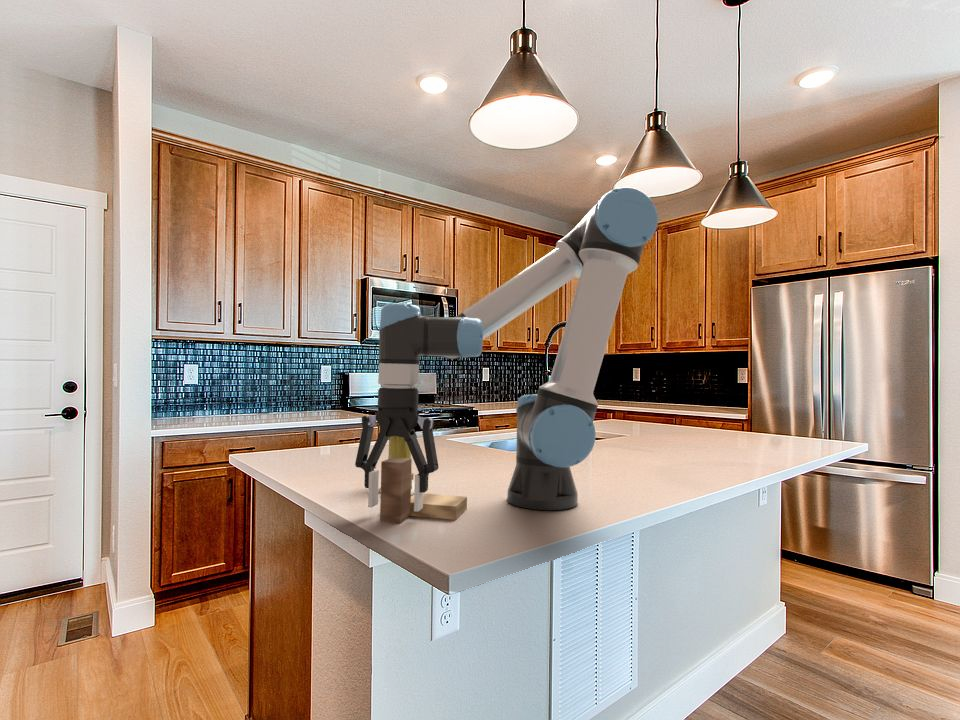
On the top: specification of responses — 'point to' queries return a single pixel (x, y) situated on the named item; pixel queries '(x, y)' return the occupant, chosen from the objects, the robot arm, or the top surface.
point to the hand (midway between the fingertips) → (395, 507)
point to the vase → (399, 449)
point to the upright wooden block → (395, 490)
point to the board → (440, 506)
